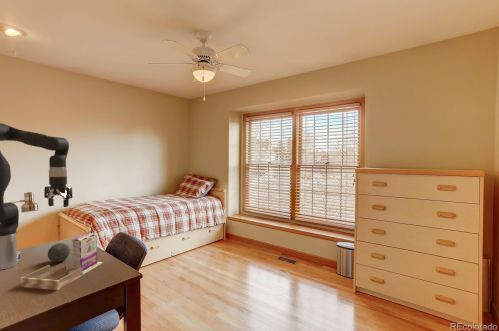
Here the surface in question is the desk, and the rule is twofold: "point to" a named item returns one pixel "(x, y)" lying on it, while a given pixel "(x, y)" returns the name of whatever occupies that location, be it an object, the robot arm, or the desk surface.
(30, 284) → the lane rack
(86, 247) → the candy bar box
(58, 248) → the decorative ball
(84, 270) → the sage mat
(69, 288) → the desk surface
